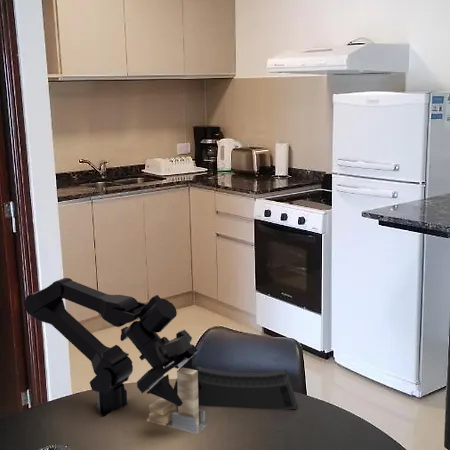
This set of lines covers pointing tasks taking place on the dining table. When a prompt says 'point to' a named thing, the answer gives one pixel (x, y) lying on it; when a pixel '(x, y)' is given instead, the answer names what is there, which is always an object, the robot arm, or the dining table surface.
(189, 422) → the rack
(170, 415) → the offcut stack
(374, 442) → the dining table surface
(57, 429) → the dining table surface
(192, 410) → the beige rectangular block
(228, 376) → the black curved panel
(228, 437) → the dining table surface
